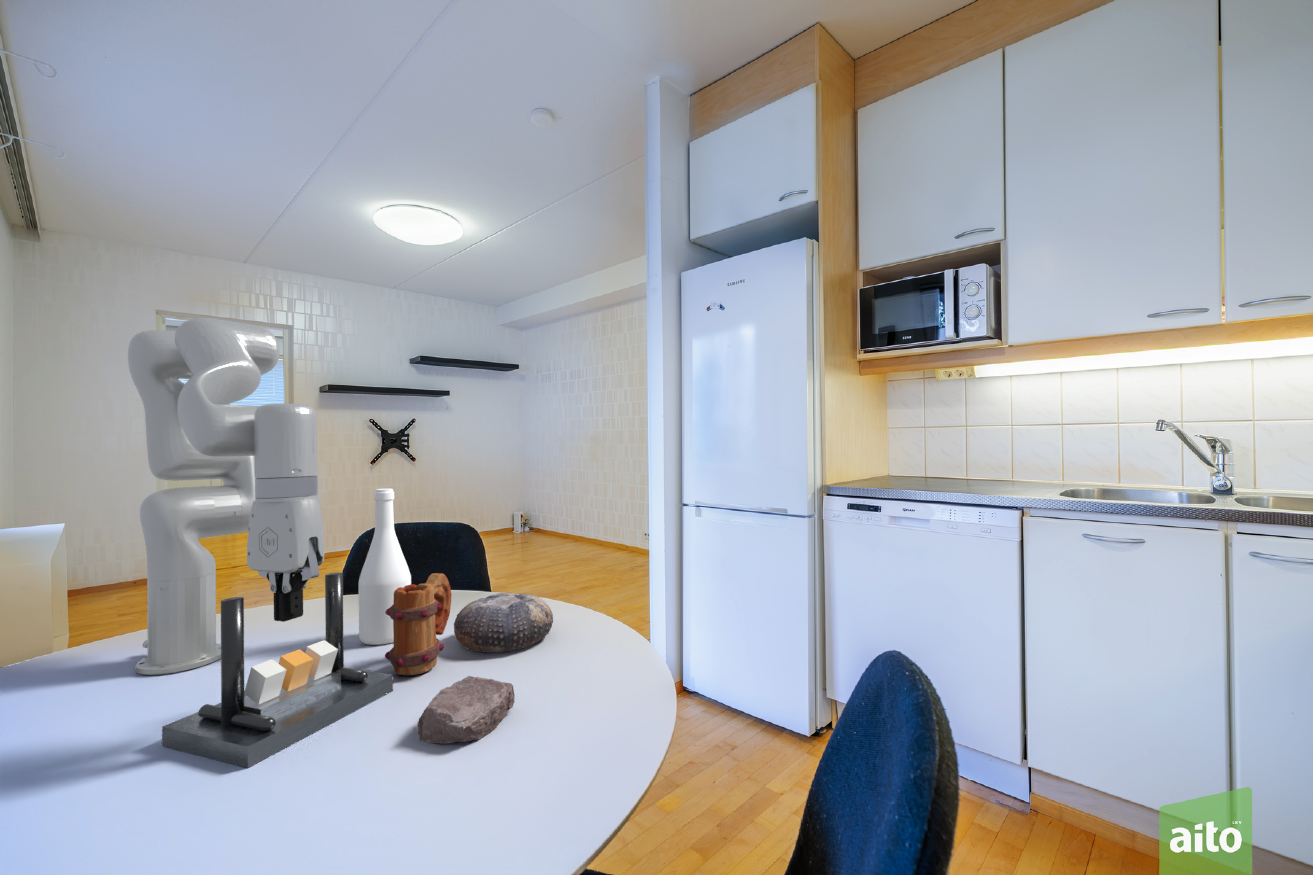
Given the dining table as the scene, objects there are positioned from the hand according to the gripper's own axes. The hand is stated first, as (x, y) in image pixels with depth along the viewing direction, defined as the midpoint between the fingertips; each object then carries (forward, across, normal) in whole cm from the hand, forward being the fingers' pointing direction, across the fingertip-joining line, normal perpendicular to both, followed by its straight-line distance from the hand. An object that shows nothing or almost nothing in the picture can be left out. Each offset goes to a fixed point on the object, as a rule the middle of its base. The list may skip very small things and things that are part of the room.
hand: (288, 618), depth 79 cm
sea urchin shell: (+14, +11, +36) cm, 40 cm away
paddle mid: (+10, 0, 0) cm, 10 cm away
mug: (+14, +5, +21) cm, 26 cm away
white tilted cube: (+10, 0, -4) cm, 11 cm away
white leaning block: (+10, 0, +4) cm, 11 cm away
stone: (+15, +26, +6) cm, 31 cm away
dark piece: (+14, 0, 0) cm, 14 cm away
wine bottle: (+14, -13, +30) cm, 36 cm away
